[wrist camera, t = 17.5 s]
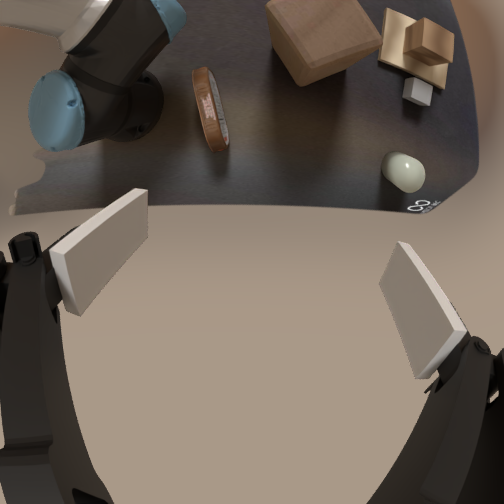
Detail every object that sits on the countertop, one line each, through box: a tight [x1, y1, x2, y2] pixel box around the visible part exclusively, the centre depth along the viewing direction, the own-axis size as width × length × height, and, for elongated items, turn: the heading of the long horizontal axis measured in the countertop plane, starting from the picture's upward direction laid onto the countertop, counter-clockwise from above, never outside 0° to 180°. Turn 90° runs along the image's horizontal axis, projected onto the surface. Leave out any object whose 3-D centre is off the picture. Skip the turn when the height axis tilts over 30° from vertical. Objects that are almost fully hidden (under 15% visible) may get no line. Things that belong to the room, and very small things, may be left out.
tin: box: [192, 67, 229, 153], centre depth 39 cm, size 15×3×8 cm, turn 12°
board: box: [378, 8, 448, 89], centre depth 31 cm, size 14×12×2 cm
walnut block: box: [403, 17, 454, 66], centre depth 27 cm, size 6×6×8 cm
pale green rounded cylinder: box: [381, 151, 425, 193], centre depth 41 cm, size 6×6×7 cm
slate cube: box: [402, 77, 433, 106], centre depth 35 cm, size 4×4×4 cm
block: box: [265, 0, 383, 87], centre depth 27 cm, size 10×10×20 cm
